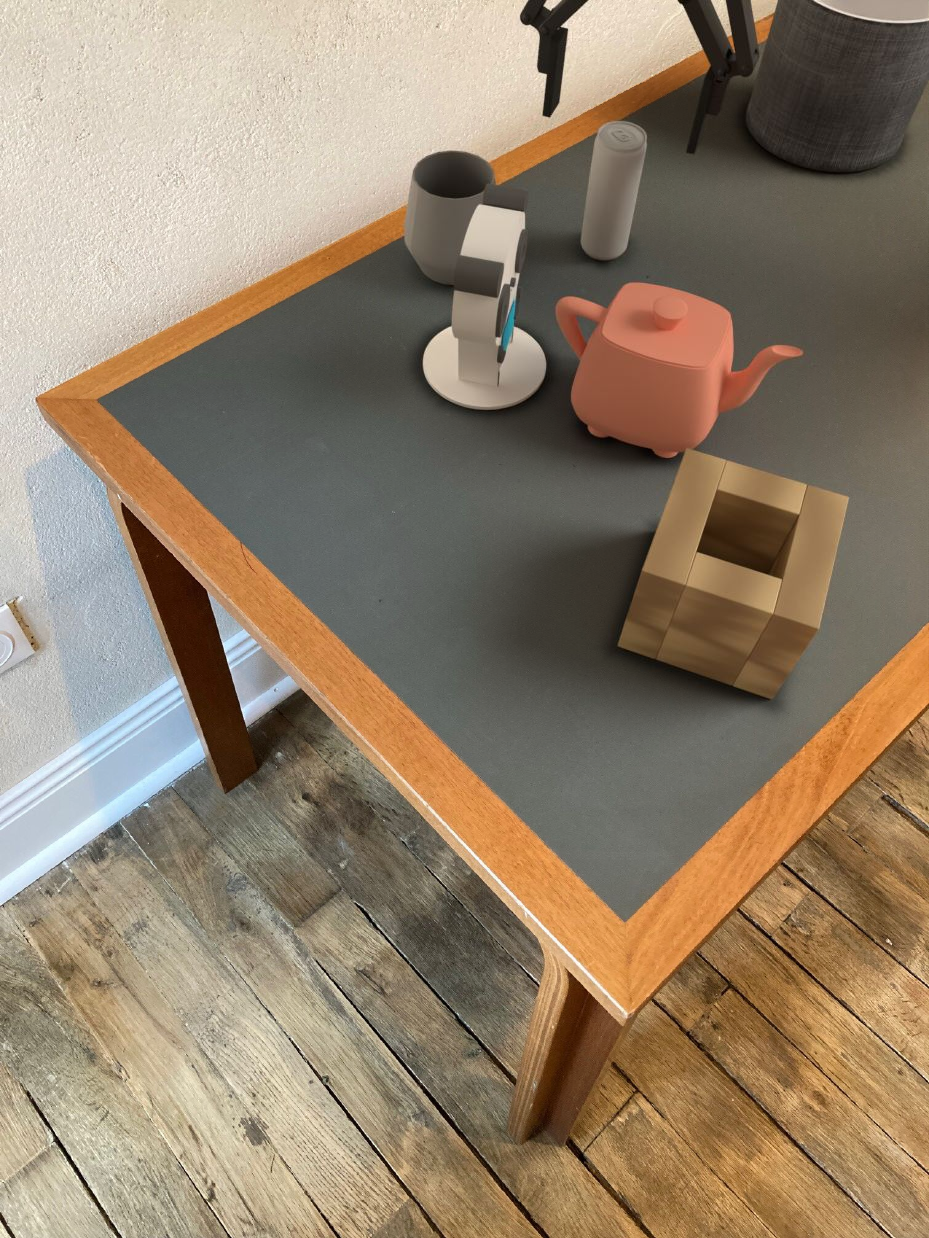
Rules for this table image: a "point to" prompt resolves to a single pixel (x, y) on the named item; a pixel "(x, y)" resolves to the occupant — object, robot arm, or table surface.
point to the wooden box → (735, 574)
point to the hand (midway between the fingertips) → (621, 127)
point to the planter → (840, 81)
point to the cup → (443, 209)
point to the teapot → (658, 366)
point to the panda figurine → (488, 313)
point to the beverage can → (613, 189)
